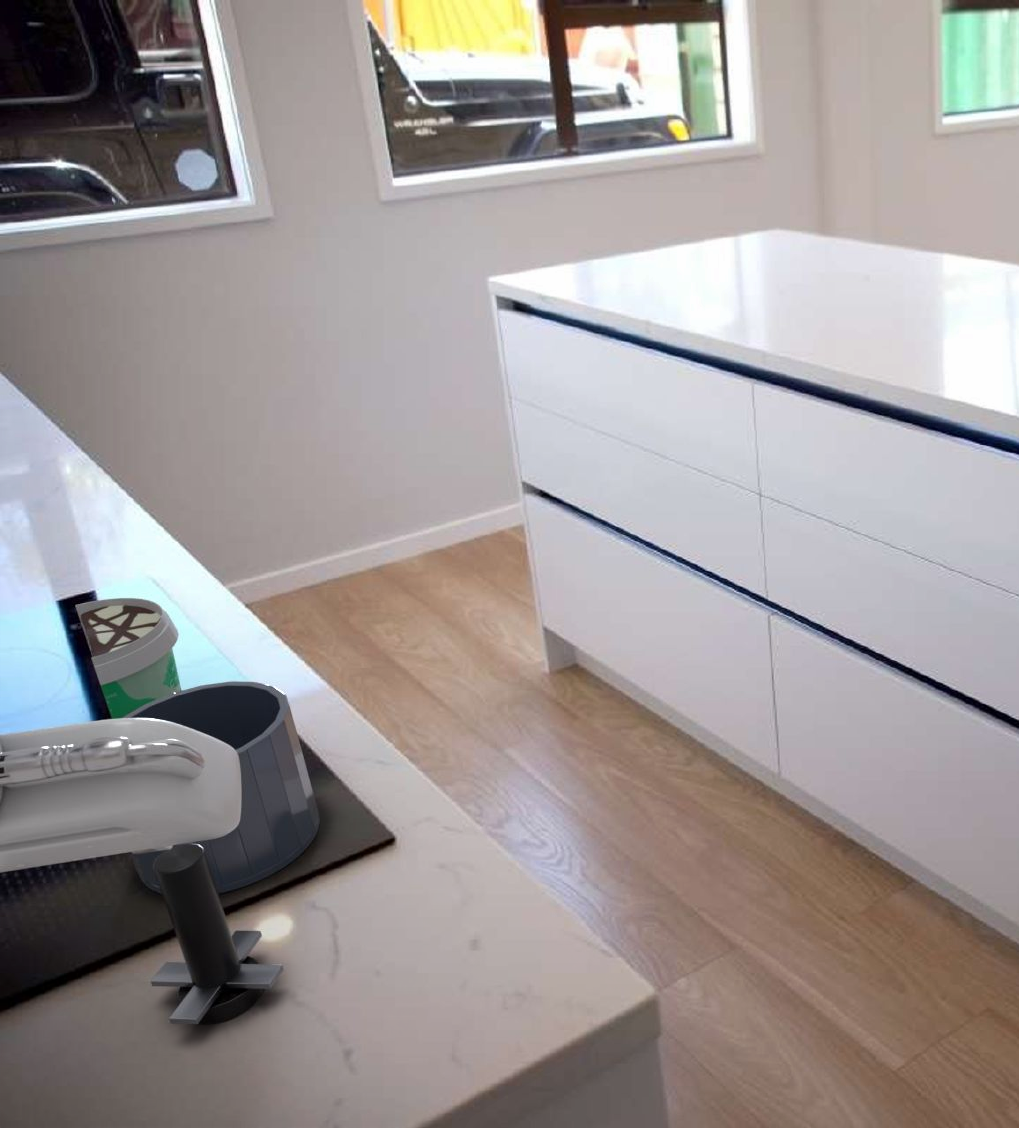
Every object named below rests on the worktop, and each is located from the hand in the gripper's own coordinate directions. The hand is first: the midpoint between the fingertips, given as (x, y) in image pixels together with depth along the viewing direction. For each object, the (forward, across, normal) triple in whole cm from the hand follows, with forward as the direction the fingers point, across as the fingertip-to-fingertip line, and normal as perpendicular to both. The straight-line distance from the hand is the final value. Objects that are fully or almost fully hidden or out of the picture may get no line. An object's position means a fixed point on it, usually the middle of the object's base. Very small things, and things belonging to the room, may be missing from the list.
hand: (41, 851), depth 56 cm
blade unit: (+23, 0, +5) cm, 23 cm away
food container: (+46, +13, -19) cm, 52 cm away
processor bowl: (+34, +3, -6) cm, 35 cm away
